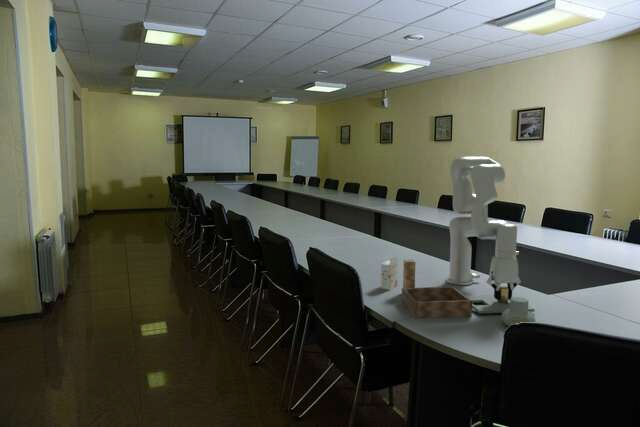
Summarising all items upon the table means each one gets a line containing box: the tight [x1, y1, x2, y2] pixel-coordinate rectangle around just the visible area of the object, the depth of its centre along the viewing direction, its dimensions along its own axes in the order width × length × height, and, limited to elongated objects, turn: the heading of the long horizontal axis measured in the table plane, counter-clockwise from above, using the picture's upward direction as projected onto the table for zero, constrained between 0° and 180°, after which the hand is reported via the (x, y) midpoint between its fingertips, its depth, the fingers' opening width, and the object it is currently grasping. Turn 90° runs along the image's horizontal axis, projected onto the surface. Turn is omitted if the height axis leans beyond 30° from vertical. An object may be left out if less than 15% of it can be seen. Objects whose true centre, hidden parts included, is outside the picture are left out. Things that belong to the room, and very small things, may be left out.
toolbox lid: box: [466, 285, 536, 315], centre depth 172 cm, size 22×18×7 cm
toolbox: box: [401, 286, 473, 319], centre depth 170 cm, size 22×18×6 cm
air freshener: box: [501, 296, 536, 327], centre depth 152 cm, size 11×8×10 cm
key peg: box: [402, 259, 416, 288], centre depth 187 cm, size 4×4×15 cm
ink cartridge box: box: [380, 255, 399, 291], centre depth 198 cm, size 9×5×15 cm, turn 148°
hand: (502, 298), depth 172 cm, fingers closed on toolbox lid, 4 cm apart
